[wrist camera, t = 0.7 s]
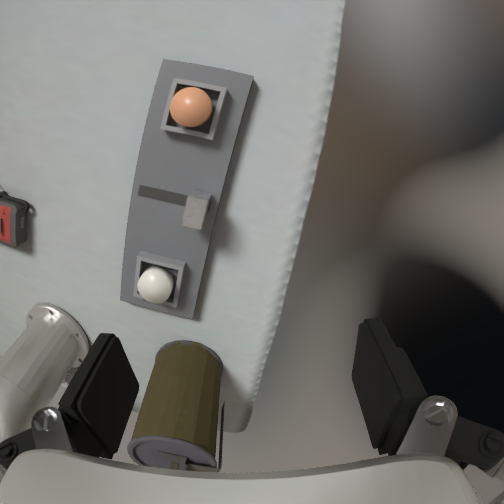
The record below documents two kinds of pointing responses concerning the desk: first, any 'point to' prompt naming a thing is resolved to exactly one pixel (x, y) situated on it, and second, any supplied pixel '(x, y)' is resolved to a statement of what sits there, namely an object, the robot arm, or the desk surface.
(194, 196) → the lever
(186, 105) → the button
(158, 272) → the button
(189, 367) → the canister
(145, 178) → the panel
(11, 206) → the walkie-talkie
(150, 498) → the robot arm
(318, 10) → the desk surface
